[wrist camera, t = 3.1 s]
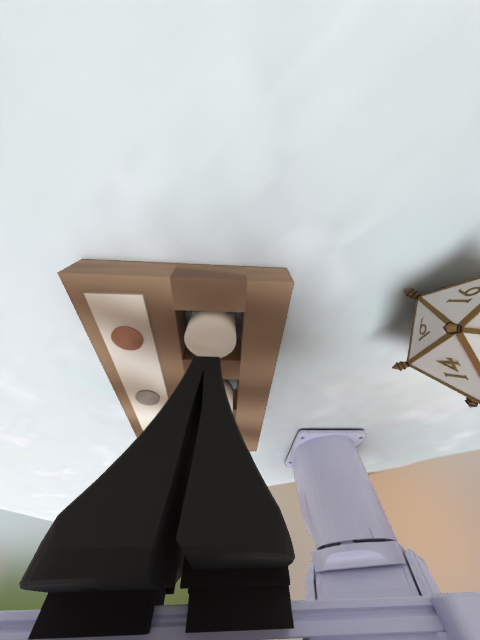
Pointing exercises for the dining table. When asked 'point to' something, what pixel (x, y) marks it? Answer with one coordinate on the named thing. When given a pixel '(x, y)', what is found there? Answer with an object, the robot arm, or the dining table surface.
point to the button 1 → (211, 333)
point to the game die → (448, 337)
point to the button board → (179, 329)
